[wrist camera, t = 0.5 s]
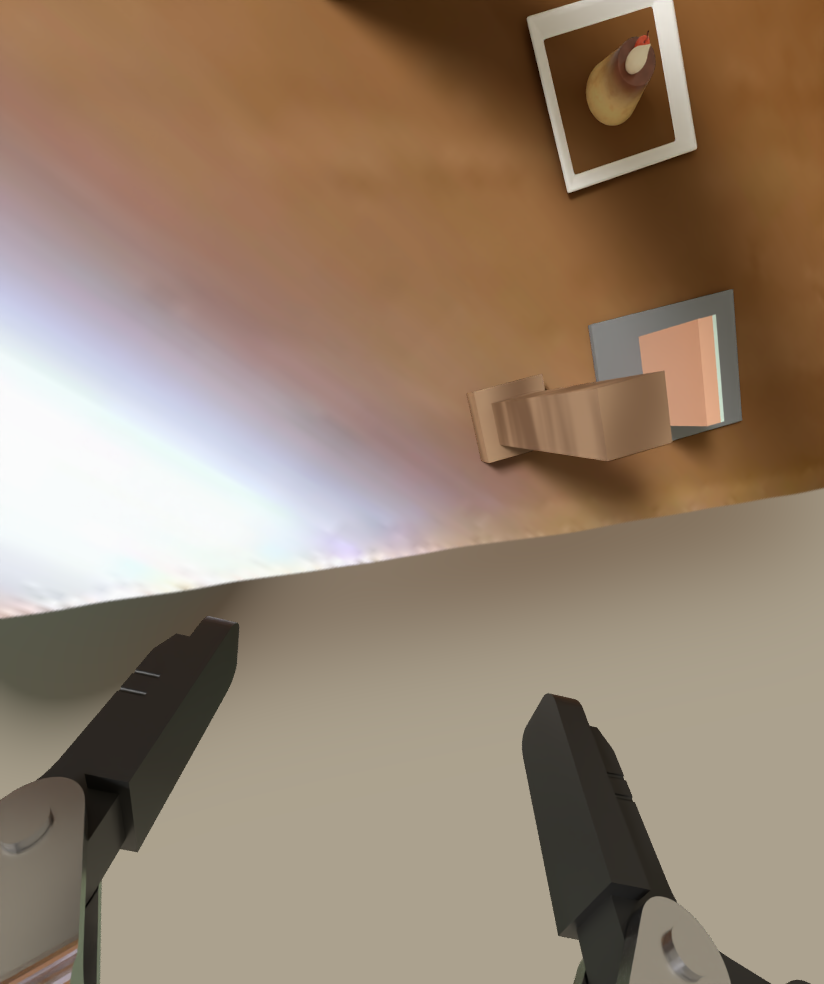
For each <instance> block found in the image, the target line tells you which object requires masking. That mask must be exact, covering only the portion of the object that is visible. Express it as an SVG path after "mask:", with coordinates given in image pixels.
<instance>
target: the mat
mask: <svg viewBox="0 0 824 984" xmlns="http://www.w3.org/2000/svg"><path fill="white" fill-rule="evenodd" d="M715 314H716V323H717V336H718V349H719V361H720V374H721V387H722V399H723V412H724V422H720V423H717V424H713V425H710V426H671V435H672V441H673V440H676V439H680V438H683V437H687V436H690V435H694V434H697V433H700V432H704V431H707V430H711V429H714V428H718V427H721V426H725V425H728V424H731V423H735V422H738V421H742V412H741V398H740V384H739V369H738V355H737V340H736V326H735V311H734V297H733V289H730V290H726V291H722V292H718V293H714V294H711V295H707V296H703V297H699V298H695V299H691V300H687V301H683V302H679V303H675V304H671V305H667V306H663V307H659V308H655V309H651V310H647V311H643V312H639V313H635V314H631V315H627V316H623V317H619V318H615V319H611V320H607V321H603V322H599V323H595V324H591V325H589V326H588V328H589V334H590V341H591V348H592V355H593V362H594V369H595V375H596V382H598V381H604V380H610V379H616V378H622V377H628V376H634V375H640V374H643V370H642V361H641V353H640V345H639V337H640V336H643V335H646V334H650V333H653V332H656V331H660V330H663V329H666V328H670V327H673V326H676V325H680V324H683V323H686V322H690V321H693V320H696V319H700V318H704V317H708V316H712V315H715Z"/></svg>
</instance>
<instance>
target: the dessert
mask: <svg viewBox="0 0 824 984" xmlns="http://www.w3.org/2000/svg"><path fill="white" fill-rule="evenodd" d="M650 6H651V7H652V8H653V12H654V18H655V23H656V29H657V35H658V41H659V47H660V52H661V58H662V64H663V70H664V76H665V81H666V87H667V93H668V99H669V105H670V110H671V116H672V122H673V128H674V134H675V141H674V142H672V143H669V144H666V145H663V146H660V147H657V148H654V149H651V150H648V151H645V152H642V153H639V154H636V155H633V156H630V157H627V158H624V159H621V160H618V161H615V162H612V163H609V164H606V165H603V166H600V167H597V168H594V169H591V170H588V171H585V172H582V173H579V174H574V172H573V167H572V163H571V159H570V154H569V150H568V146H567V141H566V137H565V133H564V128H563V124H562V120H561V115H560V111H559V107H558V102H557V98H556V94H555V90H554V85H553V81H552V77H551V72H550V68H549V64H548V59H547V55H546V51H545V46H544V40H545V39H547V38H550V37H553V36H556V35H560V34H563V33H566V32H569V31H572V30H576V29H579V28H582V27H585V26H589V25H592V24H595V23H598V22H601V21H605V20H608V19H611V18H614V17H618V16H621V15H624V14H627V13H630V12H634V11H637V10H640V9H643V8H647V7H650ZM527 23H528V27H529V31H530V36H531V40H532V44H533V48H534V52H535V57H536V61H537V65H538V69H539V74H540V78H541V82H542V86H543V91H544V95H545V99H546V103H547V108H548V112H549V116H550V120H551V124H552V129H553V133H554V137H555V141H556V146H557V150H558V154H559V158H560V163H561V167H562V171H563V175H564V179H565V184H566V188H567V192H568V193H571V192H574V191H577V190H579V189H582V188H585V187H588V186H591V185H594V184H597V183H600V182H603V181H606V180H609V179H612V178H615V177H618V176H620V175H623V174H626V173H629V172H632V171H635V170H638V169H641V168H644V167H647V166H650V165H653V164H656V163H658V162H661V161H664V160H667V159H670V158H673V157H676V156H679V155H682V154H685V153H688V152H691V151H694V150H696V149H697V143H696V137H695V131H694V124H693V118H692V112H691V106H690V100H689V94H688V88H687V82H686V76H685V70H684V64H683V58H682V52H681V46H680V40H679V33H678V27H677V21H676V15H675V9H674V3H673V0H581V1H578V2H574V3H571V4H568V5H564V6H561V7H558V8H554V9H551V10H548V11H544V12H541V13H538V14H534V15H531V16H528V17H527ZM648 32H649V31H648ZM654 69H655V54H654V51H653V48H652V46H651V44H650V39H649V37H648V33H647V35H642V36H641V37H632V38H630V39H628V40H627V41H625V42H624V43H623V44H622V45H621V46H619V47H618V48H617V49H616V50H614V51H613V52H612V53H611V54H610V55H609V56H608V57H606V58H605V59H604V60H603V61H601V62H600V63H599V64H598V65H596V66H595V68H594V69H593V70H592V72H591V73H590V76H589V78H588V81H587V86H586V98H587V103H588V106H589V109H590V111H591V112H592V114H593V115H594V117H595V118H596V119H597V120H598V121H600V122H601V123H603V124H606V125H610V126H614V125H619V124H621V123H623V122H625V121H626V120H627V119H628V118H629V117H630V116H631V115H632V113H633V111H634V109H635V107H636V105H637V103H638V101H639V99H640V98H641V96H642V94H643V92H644V90H645V88H646V86H647V85H648V83H649V81H650V79H651V77H652V75H653V72H654Z"/></svg>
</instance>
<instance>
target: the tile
mask: <svg viewBox="0 0 824 984" xmlns="http://www.w3.org/2000/svg"><path fill="white" fill-rule="evenodd" d="M639 345H640V353H641V361H642V370H643V374H646V373H652V372H658V371H665V380H666V389H667V398H668V407H669V417H670V426H710V425H713V424H717V423H720V422H724V412H723V399H722V387H721V374H720V361H719V349H718V336H717V323H716V314H715V315H712V316H708V317H704V318H700V319H696V320H693V321H690V322H686V323H683V324H680V325H676V326H673V327H670V328H666V329H663V330H660V331H656V332H653V333H650V334H646V335H643V336H640V337H639Z"/></svg>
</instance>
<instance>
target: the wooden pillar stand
mask: <svg viewBox="0 0 824 984" xmlns="http://www.w3.org/2000/svg"><path fill="white" fill-rule="evenodd" d="M467 398H468V403H469V407H470V412H471V416H472V421H473V425H474V430H475V435H476V439H477V444H478V448H479V453H480V458H481V461H483V462H487V463H491V462H495V461H498V460H502V459H505V458H509V457H513V456H516V455H520V454H523V453H527V452H530V451H534V450H537V451H544V452H550V453H557V454H564V455H570V456H577V457H583V458H590V459H597V460H603V461H610V460H614V459H617V458H620V457H624V456H627V455H631V454H634V453H638V452H641V451H644V450H648V449H651V448H655V447H658V446H662V445H665V444H669V443H672V435H671V426H670V417H669V407H668V398H667V389H666V380H665V371H658V372H652V373H646V374H640V375H634V376H628V377H622V378H616V379H610V380H604V381H598V382H592V383H586V384H580V385H574V386H568V387H562V388H556V389H550V390H545V387H544V381H543V375H542V374H540V375H536V376H532V377H528V378H524V379H520V380H517V381H513V382H509V383H505V384H501V385H497V386H494V387H490V388H486V389H482V390H478V391H475V392H471V393H467Z"/></svg>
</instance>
